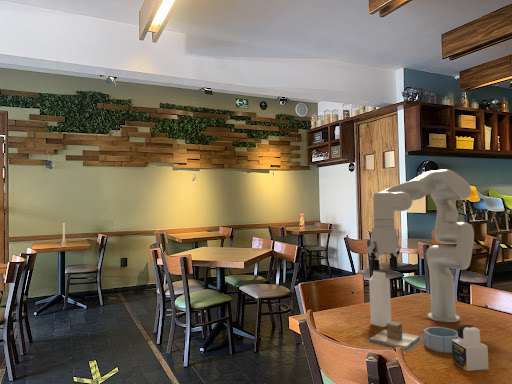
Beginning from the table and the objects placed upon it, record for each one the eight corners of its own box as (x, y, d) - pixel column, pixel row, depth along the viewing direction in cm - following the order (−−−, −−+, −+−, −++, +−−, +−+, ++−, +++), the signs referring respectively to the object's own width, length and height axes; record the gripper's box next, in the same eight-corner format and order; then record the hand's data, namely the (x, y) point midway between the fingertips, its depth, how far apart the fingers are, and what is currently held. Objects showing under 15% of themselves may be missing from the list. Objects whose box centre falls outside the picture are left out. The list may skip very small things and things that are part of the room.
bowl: (430, 340, 140) (430, 324, 140) (464, 347, 132) (463, 330, 133) (420, 348, 132) (419, 332, 132) (454, 356, 124) (454, 339, 124)
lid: (385, 331, 148) (384, 316, 149) (419, 339, 140) (418, 322, 140) (370, 341, 139) (369, 324, 139) (405, 349, 130) (405, 331, 130)
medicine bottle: (452, 361, 120) (450, 323, 121) (473, 360, 121) (471, 322, 122) (466, 371, 113) (464, 330, 114) (489, 370, 114) (487, 329, 114)
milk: (383, 328, 154) (380, 274, 155) (370, 325, 159) (368, 272, 160) (391, 325, 158) (389, 272, 158) (379, 322, 163) (377, 270, 163)
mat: (383, 331, 150) (383, 330, 150) (425, 340, 140) (425, 338, 140) (364, 343, 139) (364, 341, 139) (408, 353, 128) (408, 351, 128)
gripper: (391, 223, 154) (392, 266, 153) (360, 224, 145) (360, 269, 144) (407, 224, 147) (408, 268, 146) (375, 224, 139) (376, 272, 138)
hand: (384, 269), depth 145 cm, fingers open, 9 cm apart
